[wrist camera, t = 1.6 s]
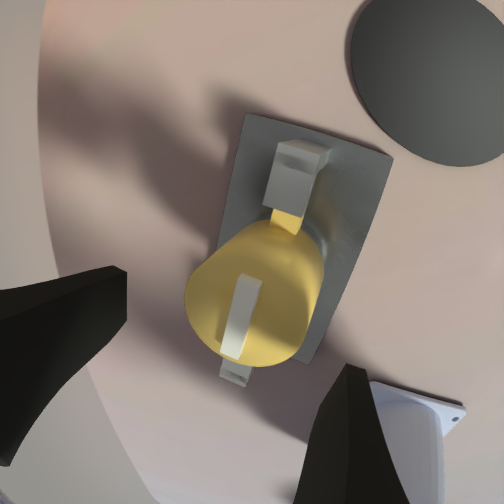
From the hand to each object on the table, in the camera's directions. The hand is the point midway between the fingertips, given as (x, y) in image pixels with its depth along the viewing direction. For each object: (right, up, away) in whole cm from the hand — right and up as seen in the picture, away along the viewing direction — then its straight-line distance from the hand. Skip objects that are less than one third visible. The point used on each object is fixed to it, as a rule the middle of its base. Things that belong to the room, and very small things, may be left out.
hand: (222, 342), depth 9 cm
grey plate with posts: (+3, +3, +7) cm, 8 cm away
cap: (+2, +2, +5) cm, 6 cm away
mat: (+9, +11, +1) cm, 14 cm away
